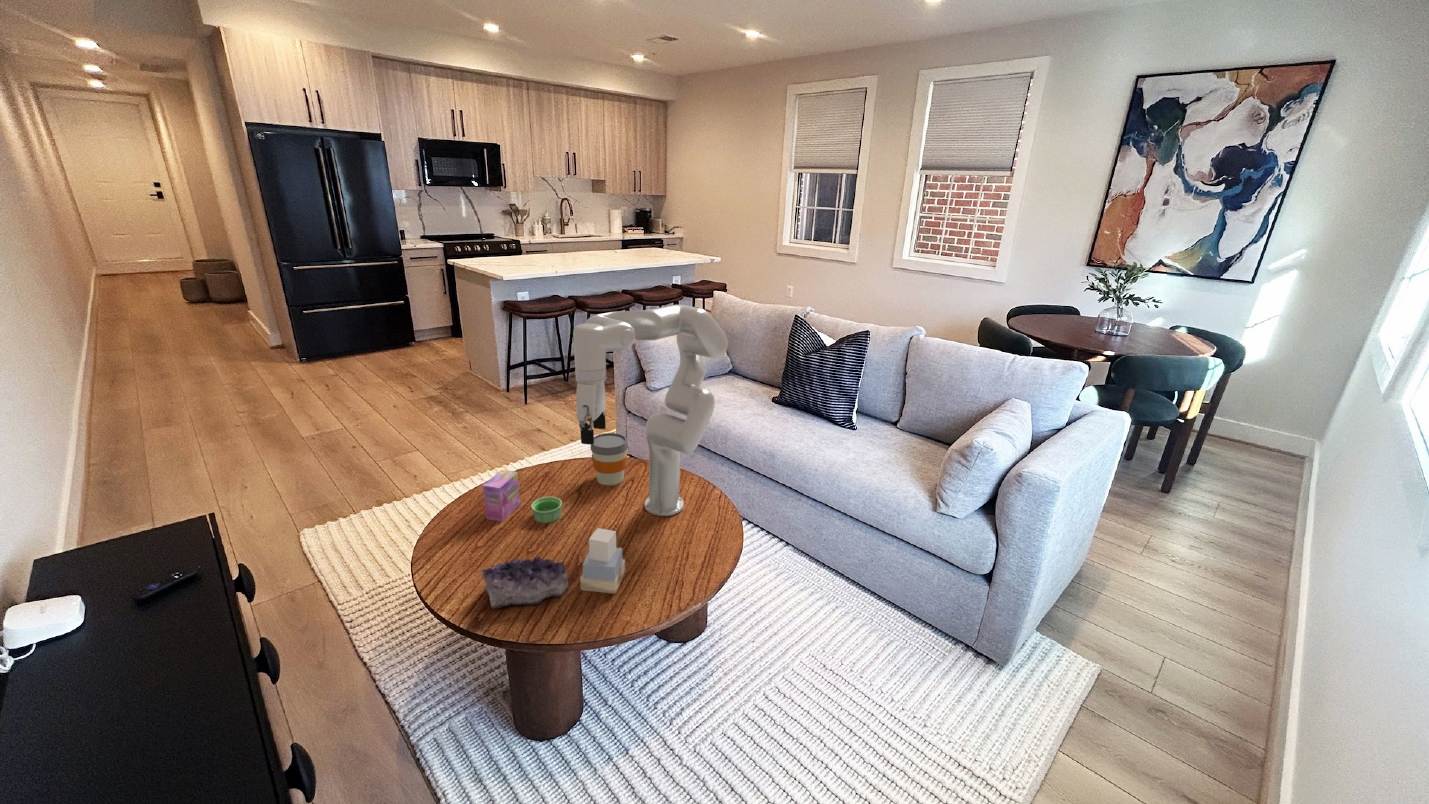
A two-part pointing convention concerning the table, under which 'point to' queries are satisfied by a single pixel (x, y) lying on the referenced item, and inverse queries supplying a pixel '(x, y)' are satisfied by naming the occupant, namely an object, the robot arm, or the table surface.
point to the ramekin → (546, 509)
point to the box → (501, 495)
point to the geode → (525, 582)
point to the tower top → (602, 567)
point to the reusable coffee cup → (609, 457)
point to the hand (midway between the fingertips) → (593, 435)
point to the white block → (602, 545)
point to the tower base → (603, 582)
